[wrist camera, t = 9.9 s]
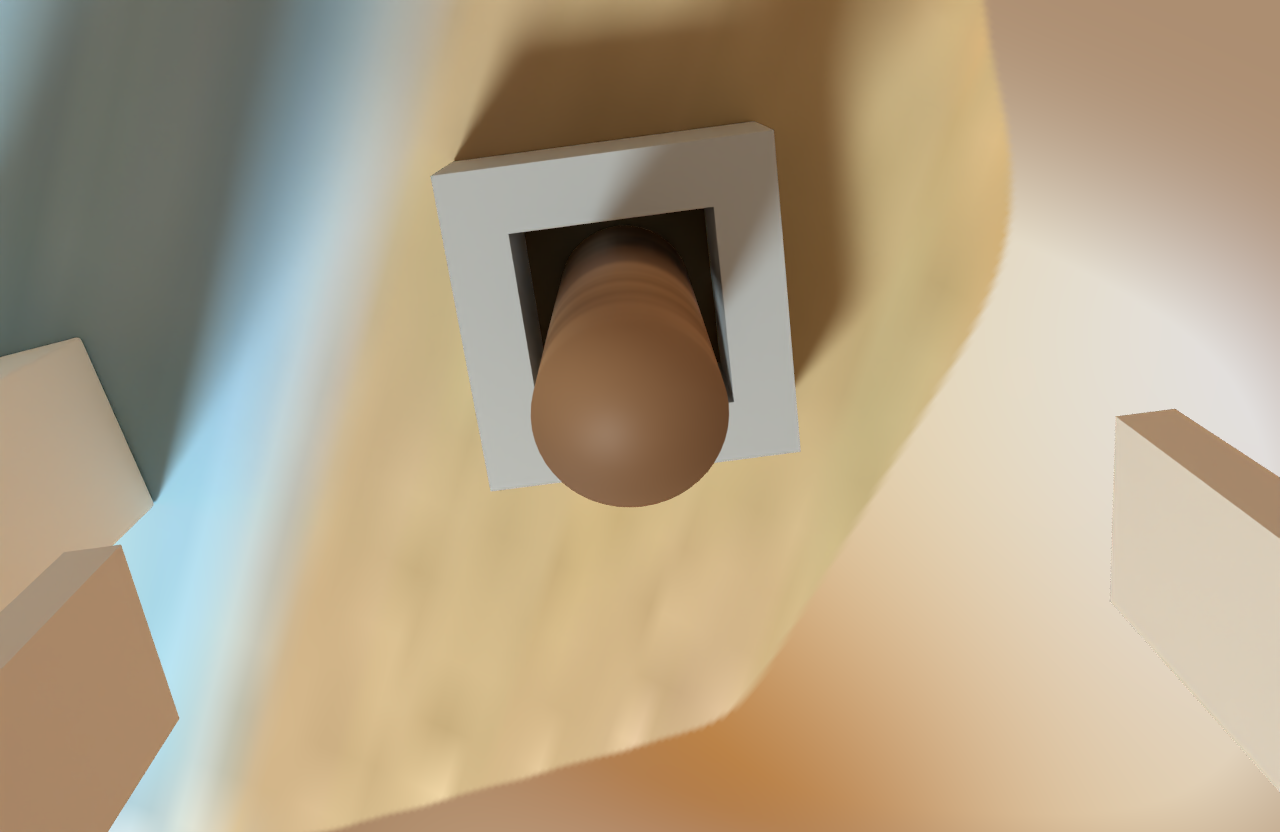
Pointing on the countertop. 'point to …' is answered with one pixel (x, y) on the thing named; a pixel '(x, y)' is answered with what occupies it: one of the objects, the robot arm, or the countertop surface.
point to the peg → (628, 375)
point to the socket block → (602, 191)
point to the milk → (59, 464)
